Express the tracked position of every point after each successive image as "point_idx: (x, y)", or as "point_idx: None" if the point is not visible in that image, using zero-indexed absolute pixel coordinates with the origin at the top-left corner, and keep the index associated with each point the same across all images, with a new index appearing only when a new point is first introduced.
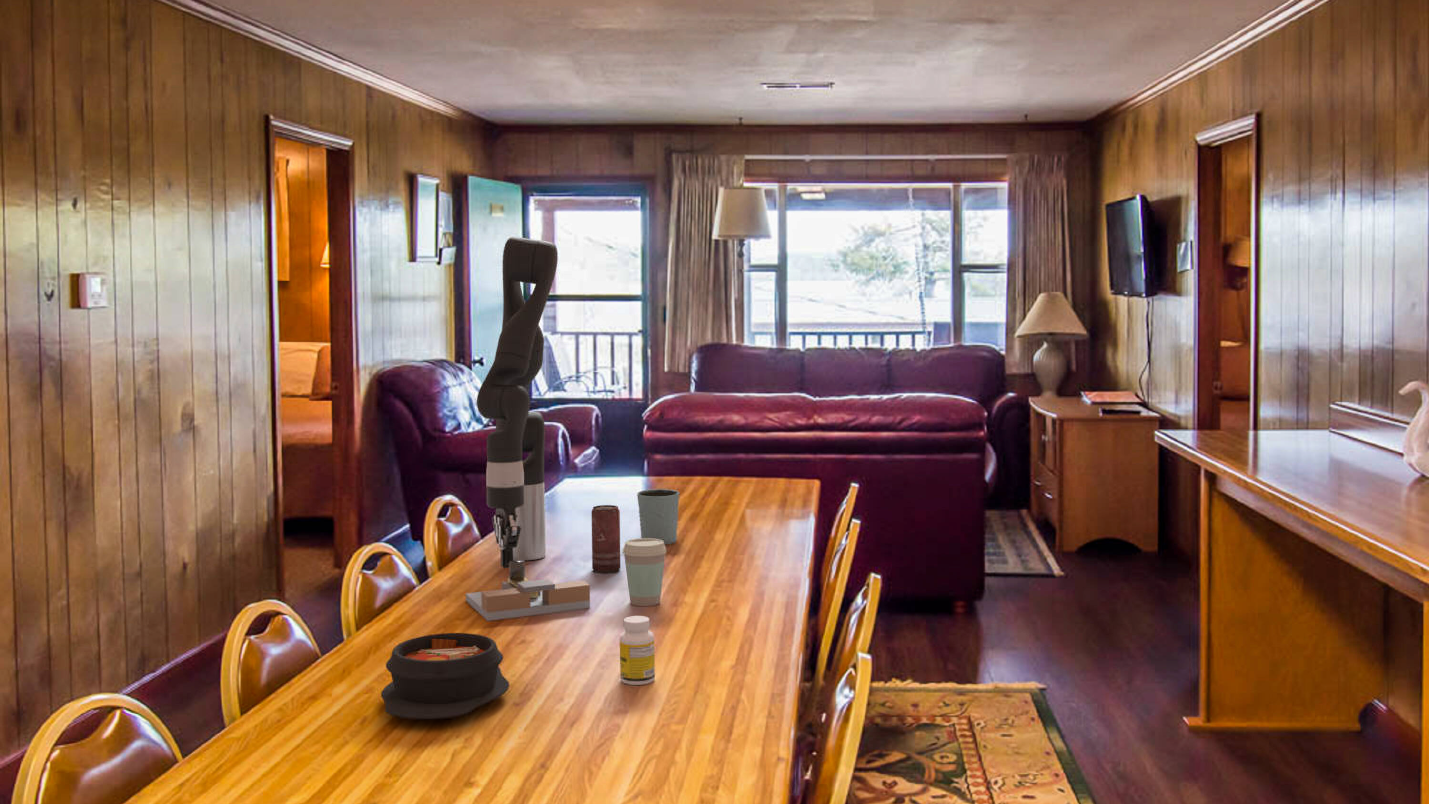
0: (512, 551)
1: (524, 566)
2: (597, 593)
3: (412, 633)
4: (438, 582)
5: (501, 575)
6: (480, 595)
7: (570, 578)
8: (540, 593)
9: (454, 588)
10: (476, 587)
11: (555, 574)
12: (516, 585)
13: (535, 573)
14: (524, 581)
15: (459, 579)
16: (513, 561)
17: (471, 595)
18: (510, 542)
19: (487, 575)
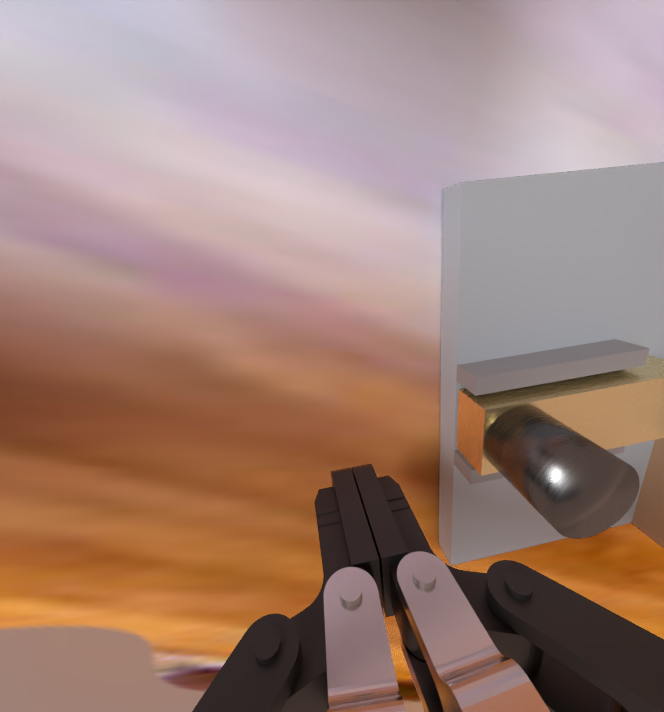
0: (402, 539)
1: (593, 442)
2: (593, 21)
3: (637, 618)
4: (152, 624)
5: (56, 427)
6: (497, 527)
7: (204, 65)
8: (590, 334)
9: (260, 578)
10: (268, 519)
11: (68, 135)
12: (609, 446)
13: (23, 255)
14: (583, 413)
15: (114, 572)
16: (586, 518)
17: (483, 550)
18: (541, 651)
19: (48, 482)
